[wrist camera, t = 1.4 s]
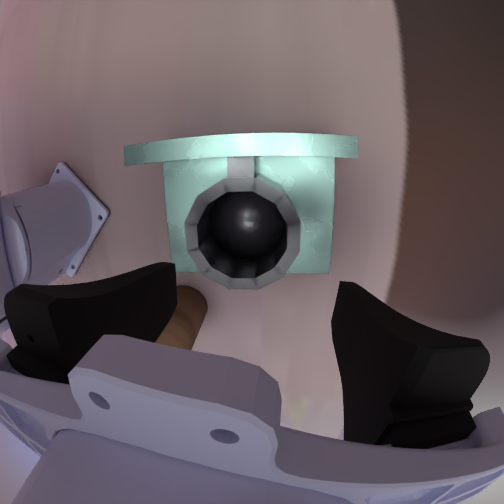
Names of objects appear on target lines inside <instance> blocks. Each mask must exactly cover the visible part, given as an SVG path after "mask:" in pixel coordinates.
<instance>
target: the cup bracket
mask: <svg viewBox="0 0 504 504" xmlns="http://www.w3.org/2000/svg"><path fill="white" fill-rule="evenodd" d="M335 157H337V158H357V159H358V137H357V136H346V135H331V134H310V133H245V134H224V135H209V136H197V137H186V138H177V139H169V140H161V141H153V142H146V143H140V144H134V145H128V146H124V162H125V166H130V165H138V164H146V163H156V162H163V174H164V189H165V202H166V213H167V224H168V233H169V242H170V251H171V259H172V263H175V267H176V272H200V273H202V274H203V275H204V276H206V277H207V278H209V279H211V280H213V281H215V282H217V283H219V284H220V285H222V286H224V287H226V288H228V289H252V290H258V289H260V288H262V287H264V286H266V285H268V284H270V283H272V282H274V281H276V280H278V279H280V278H282V277H284V276H285V274H329V272H330V260H331V247H332V231H333V212H334V180H335Z"/></svg>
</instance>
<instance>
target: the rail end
mask: <svg viewBox="0 0 504 504" xmlns="http://www.w3.org/2000/svg"><path fill="white" fill-rule="evenodd" d="M177 301H178V304H177V306H176V308H175V311H174V313H173V315H172V317H171V319H170V321H169V323H168V324H167V326H166V327H165V329H164V330H163V332H162V333H161V335H160V336H159V338H158V339H157V341H156V342H155V343H157V344H162V345H167V346H171V347H176V348H181V349H186V350H191V349H192V347H193V345H194V342H195V340H196V337H197V335H198V332H199V330H200V327H201V325H202V323H203V320H204V318H205V315H206V313H207V302H206V300H205V298H204V296H203V295H202V294H201V293H200V292H199V291H198V290H196V289H194V288H192V287H189V286H177Z"/></svg>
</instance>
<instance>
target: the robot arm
mask: <svg viewBox="0 0 504 504" xmlns="http://www.w3.org/2000/svg"><path fill="white" fill-rule="evenodd" d="M59 170H60V172H59ZM0 196H1V193H0ZM100 215H101V216H102V219H101V218H100ZM108 216H109V211H108V209H107V208H106V207H105V206H104V205H103V204H102V203H101V202H100V201H99V200H98V199H97V198H96V197H95V196H94V195H93V194H92V193H91V192H90V190H89V189H88V188H87V187H86V186H85V185H84V184H83V183H82V182H81V181H80V180H79V179H78V178H77V176H76V175H75V174H74V173H73V172H72V171H71V170H70V169H69V168H68V166H67V165H66V164H65V163H64V162H59V163H58V165H57V167H56V169H55V171H54V173H53V175H52V177H51V179H50V181H49V183H48V184H46V185H42V186H38V187H34V188H30V189H26V190H23V191H19V192H16V193H12V194H9V195H5V196H2V197H0V334H2V333H3V332H5V331H6V330H7V329H9V328H11V331H12V333H13V336H14V338H15V341H16V343H17V346H16V347H15V348H14V349H12V348H11V346H10V345H9V344H8V343H6V342H5V341H3V340H2V339H0V423H2V424H3V425H4V426H5V427H6V428H7V429H8V430H9V431H10V432H11V433H13V434H14V435H15V436H16V437H17V438H18V439H19V440H20V441H22V442H23V443H24V444H25V445H26V446H28V447H29V448H30V449H31V450H33V451H34V452H35V453H36V454H38V455H39V456H40V457H41V458H40V460H39V461H38V463H37V464H36V466H35V467H34V469H33V470H32V472H31V474H30V475H29V477H28V478H27V480H26V481H25V483H24V484H23V486H22V487H21V489H20V491H19V492H18V494H17V496H16V497H15V499H14V500H13V502H12V504H457V503H459V502H461V501H464V500H466V499H468V498H471V497H473V496H475V495H477V494H479V493H480V492H482V491H483V490H484V489H486V488H487V487H488V486H490V485H491V484H492V483H493V482H494V481H496V480H497V479H498V478H499V477H501V476H502V475H503V474H504V414H503V412H502V411H501V408H500V407H497V408H494V409H491V410H487V411H484V412H481V413H479V414H477V415H476V416H474V417H473V418H472V416H471V414H470V412H469V411H471V410H472V408H473V404H472V402H471V400H470V398H471V397H472V395H473V394H474V392H475V391H476V389H477V388H478V386H479V385H480V383H481V382H482V380H483V378H484V377H485V375H486V372H487V370H488V367H489V363H490V354H489V352H488V350H487V349H486V348H485V346H484V345H483V344H482V342H481V341H480V340H478V339H472V338H467V337H461V336H456V335H452V334H448V333H445V332H441V331H439V330H436V329H433V328H430V327H427V326H425V325H422V324H420V323H418V322H416V321H414V320H412V319H410V318H408V317H406V316H404V315H402V314H400V313H399V312H397V311H395V310H394V309H392V308H390V307H389V306H387V305H386V304H385V303H383V302H382V301H380V300H379V299H377V298H376V297H375V296H373V295H372V294H371V293H369V292H368V291H367V290H365V289H364V288H362V287H361V286H359V285H358V284H356V283H354V282H345V281H340V284H339V289H338V293H337V298H336V303H335V307H334V311H333V316H332V320H331V327H332V339H333V344H334V349H335V353H336V358H337V362H338V367H339V371H340V376H341V381H342V389H343V405H344V440H339V439H334V438H329V437H324V436H319V435H315V434H310V433H306V432H302V431H298V430H294V429H290V428H287V427H283V426H280V417H281V403H282V398H281V394H280V389H279V385H278V382H277V381H276V380H275V379H274V378H272V377H271V376H270V375H269V374H268V373H267V372H266V371H264V370H263V369H262V368H261V367H260V366H257V365H254V364H251V363H248V362H244V361H241V360H238V359H235V358H233V357H227V356H220V355H214V354H208V353H202V352H197V351H191V350H186V349H181V348H176V347H171V346H167V345H162V344H157V343H155V342H156V341H157V339H158V338H159V336H160V335H161V333H162V332H163V330H164V329H165V327H166V326H167V324H168V323H169V321H170V319H171V317H172V315H173V313H174V311H175V308H176V306H177V304H178V301H177V286H176V267H175V263H167V262H160V263H155V264H152V265H148V266H145V267H142V268H139V269H136V270H133V271H130V272H127V273H124V274H121V275H117V276H114V277H111V278H107V279H103V280H98V281H93V282H87V283H79V284H71V285H48V284H49V283H50V282H52V281H53V280H55V279H56V278H58V277H59V276H60V275H62V274H63V273H66V274H67V275H68V276H69V277H73V276H75V274H76V272H77V270H78V268H79V266H80V264H81V262H82V261H83V259H84V257H85V255H86V253H87V251H88V250H89V248H90V246H91V244H92V243H93V241H94V239H95V237H96V236H97V234H98V232H99V231H100V229H101V227H102V226H103V224H104V223H105V221H106V219H107V218H108ZM73 265H74V266H73ZM74 267H75V268H74Z"/></svg>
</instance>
